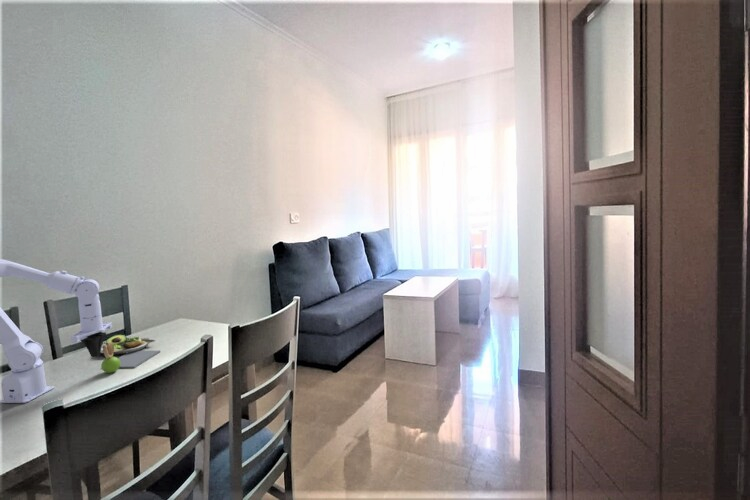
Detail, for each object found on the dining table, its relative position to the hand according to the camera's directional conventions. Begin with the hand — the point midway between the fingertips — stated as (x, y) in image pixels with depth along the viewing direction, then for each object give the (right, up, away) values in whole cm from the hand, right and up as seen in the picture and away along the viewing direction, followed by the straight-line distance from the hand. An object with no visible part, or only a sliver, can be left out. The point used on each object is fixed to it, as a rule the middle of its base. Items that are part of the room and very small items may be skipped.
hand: (95, 355), depth 122 cm
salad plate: (-10, -5, +29) cm, 31 cm away
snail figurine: (0, -8, +7) cm, 10 cm away
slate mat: (+1, -7, +18) cm, 19 cm away
